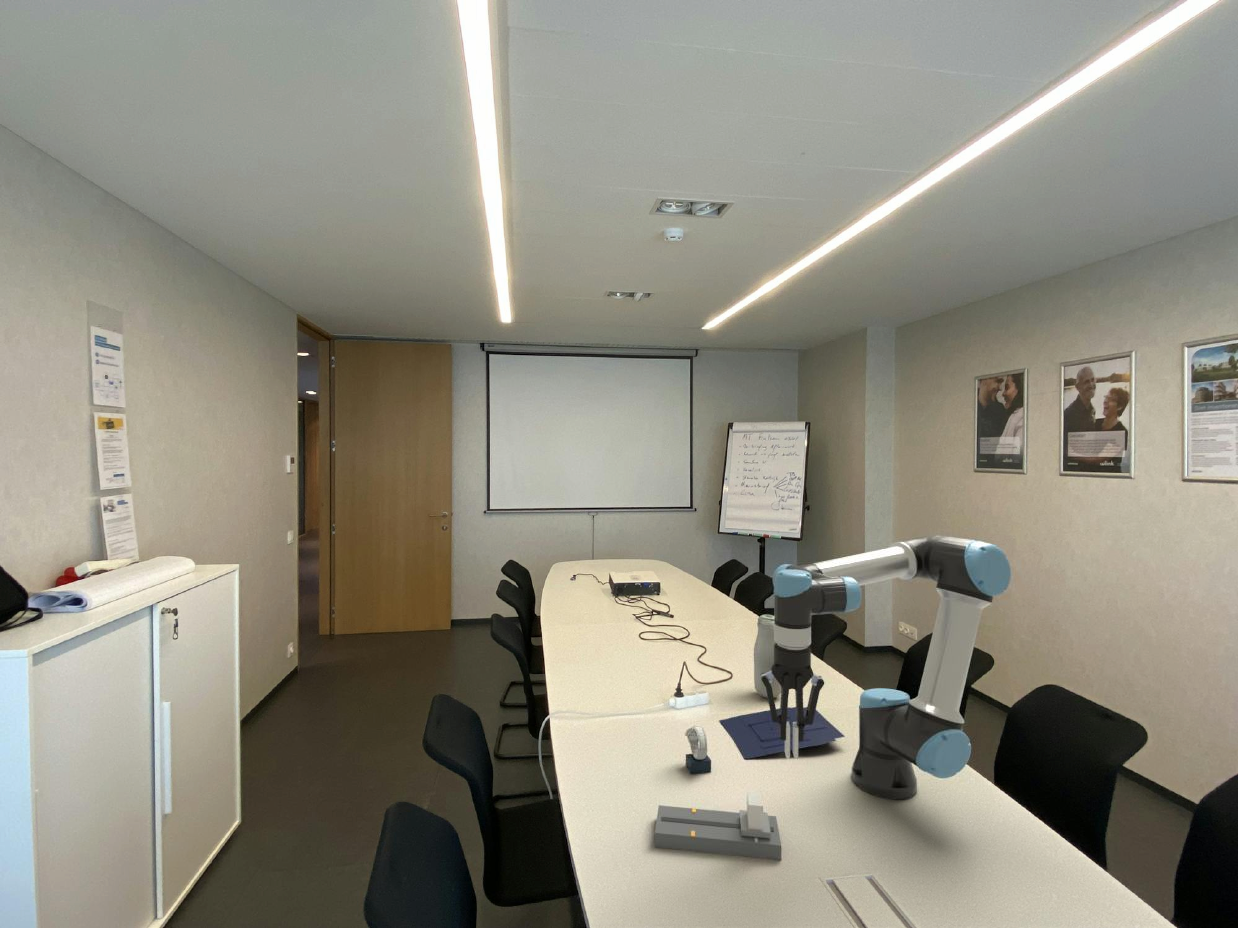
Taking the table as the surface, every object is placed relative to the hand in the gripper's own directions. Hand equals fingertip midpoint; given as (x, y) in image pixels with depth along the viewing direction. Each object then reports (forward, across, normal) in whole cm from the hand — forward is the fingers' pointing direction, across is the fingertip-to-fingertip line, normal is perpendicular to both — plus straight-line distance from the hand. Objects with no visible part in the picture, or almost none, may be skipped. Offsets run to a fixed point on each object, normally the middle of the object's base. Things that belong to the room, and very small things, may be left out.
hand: (791, 754), depth 126 cm
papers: (+20, -4, -50) cm, 54 cm away
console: (+19, +16, 0) cm, 25 cm away
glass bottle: (+20, -3, -80) cm, 82 cm away
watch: (+20, +20, -28) cm, 40 cm away
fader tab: (+16, +7, 0) cm, 18 cm away
